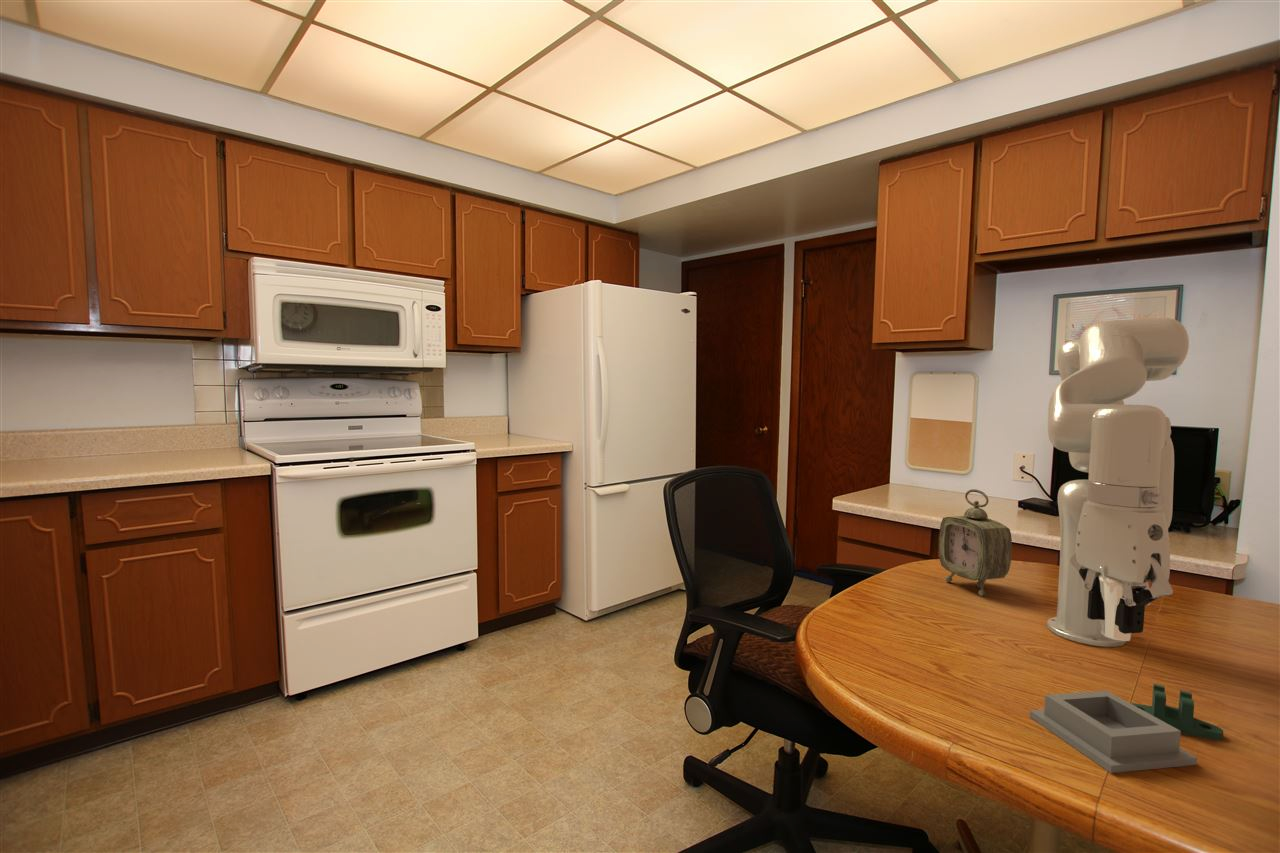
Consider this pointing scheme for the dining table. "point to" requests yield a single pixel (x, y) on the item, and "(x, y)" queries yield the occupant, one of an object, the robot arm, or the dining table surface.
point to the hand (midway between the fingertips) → (1114, 623)
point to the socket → (1113, 732)
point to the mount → (1180, 715)
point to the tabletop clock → (975, 545)
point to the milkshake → (1111, 607)
